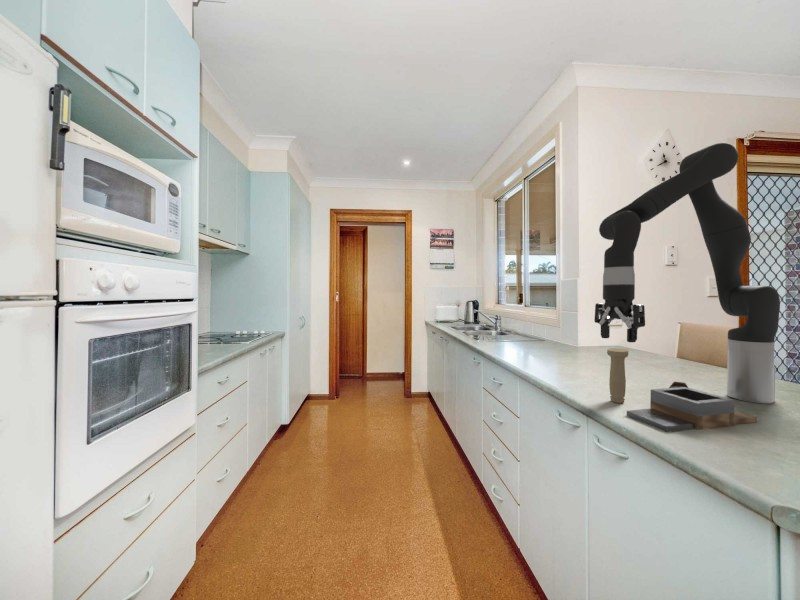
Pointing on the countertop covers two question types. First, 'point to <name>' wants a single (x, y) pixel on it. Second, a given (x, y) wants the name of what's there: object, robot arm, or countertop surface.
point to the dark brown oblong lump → (678, 385)
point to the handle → (617, 374)
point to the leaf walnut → (707, 417)
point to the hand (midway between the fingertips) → (617, 340)
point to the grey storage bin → (681, 407)
